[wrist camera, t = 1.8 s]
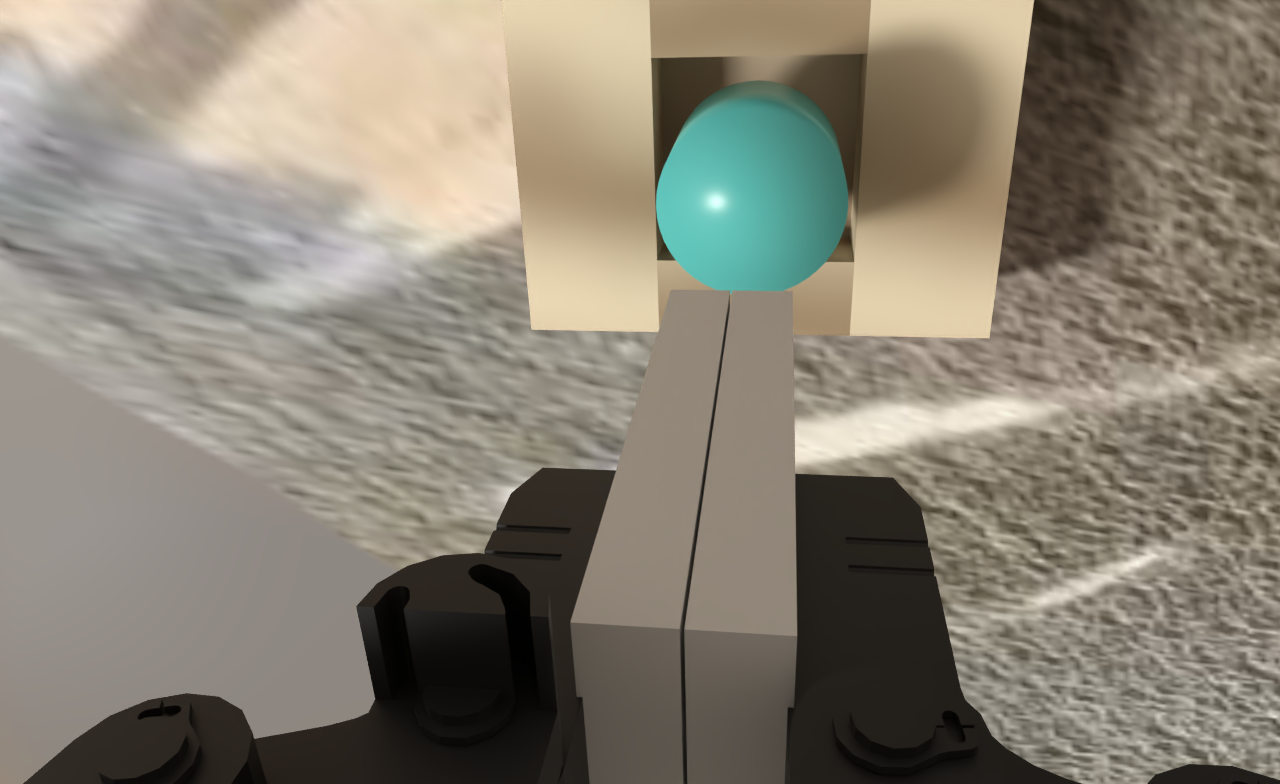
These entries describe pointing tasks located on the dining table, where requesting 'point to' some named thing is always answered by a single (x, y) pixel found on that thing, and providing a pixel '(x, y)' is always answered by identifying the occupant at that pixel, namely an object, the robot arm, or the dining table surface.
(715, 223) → the teal button
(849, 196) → the wooden button tray
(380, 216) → the dining table surface
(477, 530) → the dining table surface
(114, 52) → the dining table surface
